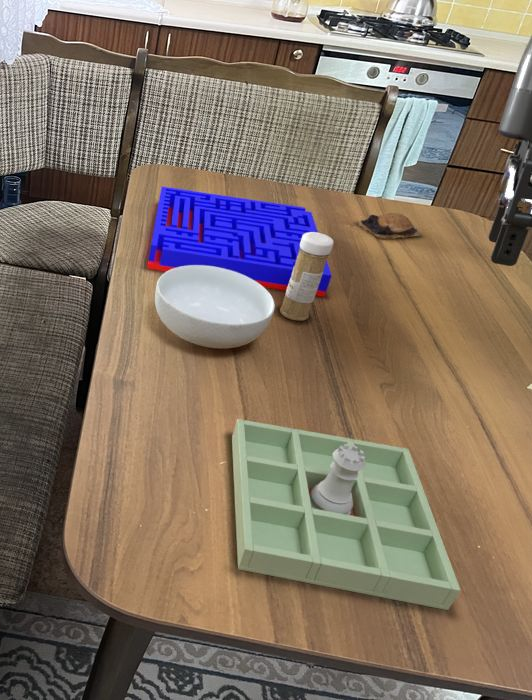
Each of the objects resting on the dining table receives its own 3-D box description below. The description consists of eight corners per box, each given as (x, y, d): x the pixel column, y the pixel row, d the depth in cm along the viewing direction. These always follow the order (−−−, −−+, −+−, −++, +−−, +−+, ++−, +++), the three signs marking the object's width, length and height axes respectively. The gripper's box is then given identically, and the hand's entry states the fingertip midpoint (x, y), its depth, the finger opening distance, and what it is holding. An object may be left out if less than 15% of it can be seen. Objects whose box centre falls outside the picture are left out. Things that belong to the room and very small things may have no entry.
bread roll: (396, 221, 146) (402, 205, 144) (423, 237, 140) (430, 221, 138) (354, 222, 143) (360, 206, 141) (380, 240, 137) (386, 222, 135)
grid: (399, 467, 80) (408, 448, 79) (448, 610, 64) (461, 590, 63) (231, 437, 82) (237, 418, 81) (237, 569, 66) (245, 549, 64)
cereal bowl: (146, 355, 95) (154, 312, 91) (151, 297, 109) (158, 258, 105) (269, 373, 94) (282, 330, 90) (257, 313, 108) (269, 273, 104)
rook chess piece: (336, 530, 70) (361, 474, 66) (298, 504, 73) (320, 449, 68) (357, 510, 73) (383, 455, 69) (320, 486, 76) (342, 431, 71)
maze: (324, 296, 114) (331, 275, 112) (147, 268, 117) (150, 247, 115) (304, 226, 139) (310, 208, 137) (158, 204, 142) (161, 186, 140)
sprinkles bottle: (277, 305, 111) (301, 229, 103) (306, 309, 110) (331, 233, 103) (281, 319, 107) (305, 241, 99) (310, 324, 106) (337, 246, 99)
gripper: (620, 97, 57) (548, 280, 64) (595, 85, 68) (536, 242, 75) (517, 88, 60) (459, 264, 67) (509, 78, 71) (460, 229, 78)
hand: (500, 252), depth 71 cm, fingers open, 8 cm apart
